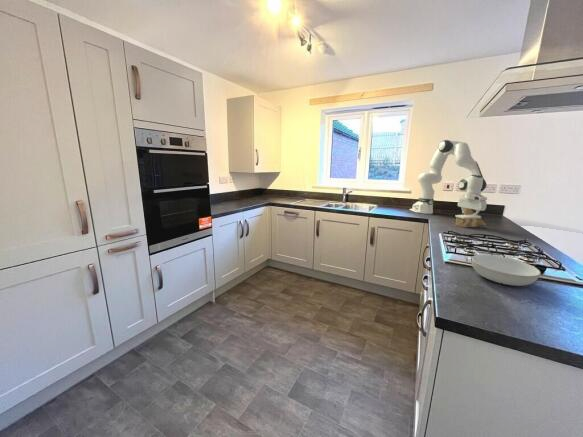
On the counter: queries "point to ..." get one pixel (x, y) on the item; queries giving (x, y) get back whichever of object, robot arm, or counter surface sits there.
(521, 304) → the counter surface
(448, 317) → the counter surface
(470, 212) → the sandwich container
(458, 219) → the crate
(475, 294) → the counter surface
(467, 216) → the lid
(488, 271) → the serving bowl
